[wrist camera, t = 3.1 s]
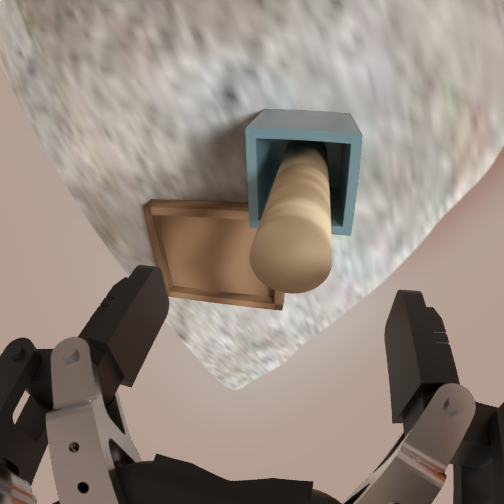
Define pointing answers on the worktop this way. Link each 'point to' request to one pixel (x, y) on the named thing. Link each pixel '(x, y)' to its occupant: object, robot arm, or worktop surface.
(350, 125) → the blue open box
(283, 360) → the worktop surface
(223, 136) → the worktop surface
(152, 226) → the tray
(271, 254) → the dowel
